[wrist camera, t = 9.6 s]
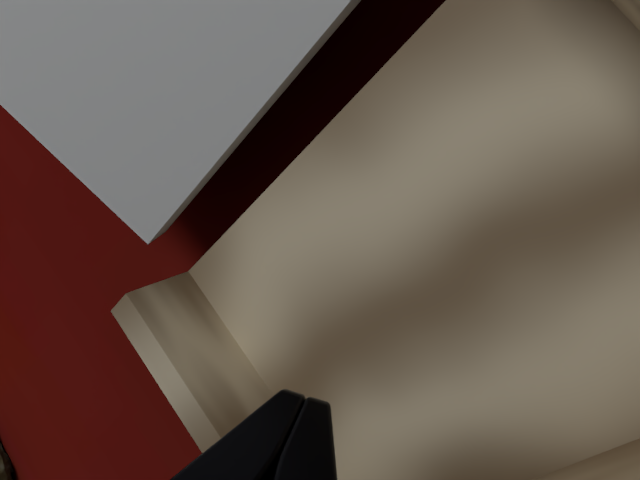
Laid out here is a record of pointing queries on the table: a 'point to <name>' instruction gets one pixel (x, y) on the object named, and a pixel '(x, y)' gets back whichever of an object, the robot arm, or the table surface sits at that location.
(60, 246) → the table surface
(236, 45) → the panel
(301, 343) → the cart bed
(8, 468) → the pastry
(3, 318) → the table surface
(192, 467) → the robot arm
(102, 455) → the table surface
